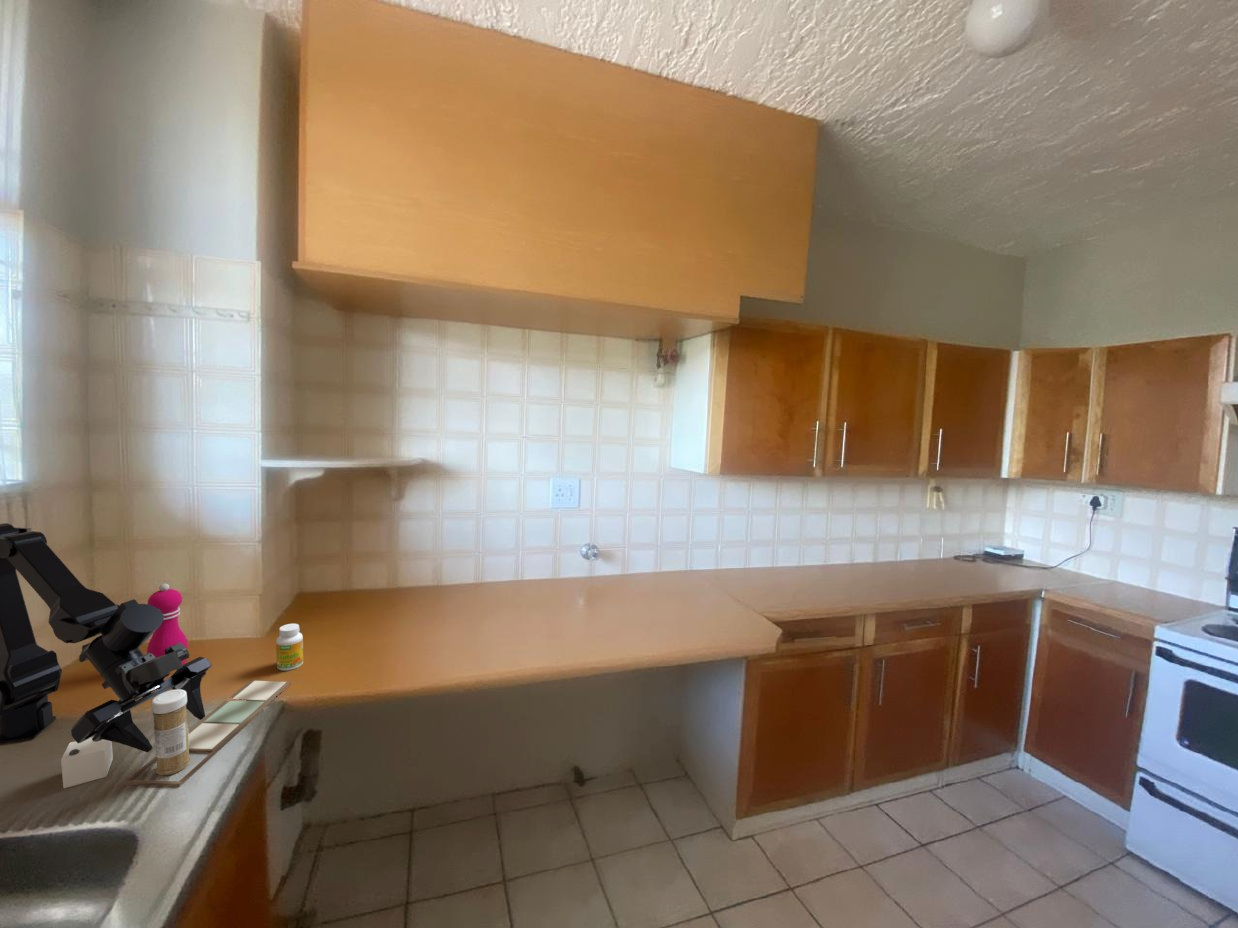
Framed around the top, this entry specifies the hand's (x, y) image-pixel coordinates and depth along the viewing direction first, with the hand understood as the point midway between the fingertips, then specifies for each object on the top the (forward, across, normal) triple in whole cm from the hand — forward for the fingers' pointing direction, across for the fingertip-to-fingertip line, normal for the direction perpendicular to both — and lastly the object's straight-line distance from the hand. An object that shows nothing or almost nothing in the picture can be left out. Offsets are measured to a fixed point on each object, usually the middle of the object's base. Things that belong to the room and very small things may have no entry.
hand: (177, 733), depth 87 cm
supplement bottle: (-2, +33, +12) cm, 35 cm away
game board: (+2, +11, +7) cm, 13 cm away
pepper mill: (-20, +25, +30) cm, 44 cm away
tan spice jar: (+4, 0, +6) cm, 7 cm away
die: (-4, -5, +14) cm, 15 cm away
